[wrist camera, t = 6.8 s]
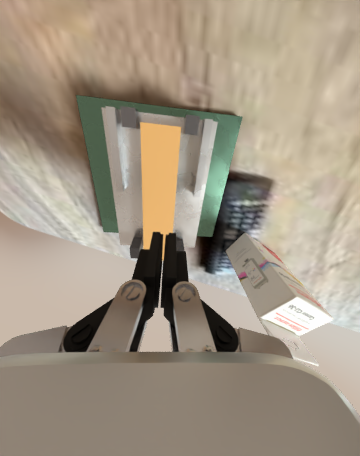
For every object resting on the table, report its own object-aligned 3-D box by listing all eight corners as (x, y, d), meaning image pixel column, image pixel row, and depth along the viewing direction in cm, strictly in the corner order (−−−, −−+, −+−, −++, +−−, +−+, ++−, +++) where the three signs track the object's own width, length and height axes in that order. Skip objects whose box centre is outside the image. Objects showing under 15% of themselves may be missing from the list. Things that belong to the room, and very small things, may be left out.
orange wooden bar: (141, 123, 12) (140, 122, 11) (180, 128, 12) (181, 127, 11) (144, 255, 18) (143, 259, 17) (170, 255, 18) (170, 260, 17)
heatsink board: (81, 97, 15) (21, 72, 9) (238, 117, 16) (278, 108, 10) (106, 228, 22) (83, 262, 17) (210, 233, 24) (224, 265, 18)
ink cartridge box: (276, 252, 27) (366, 351, 15) (254, 268, 29) (318, 368, 17) (245, 230, 24) (325, 332, 12) (223, 250, 26) (272, 355, 14)
